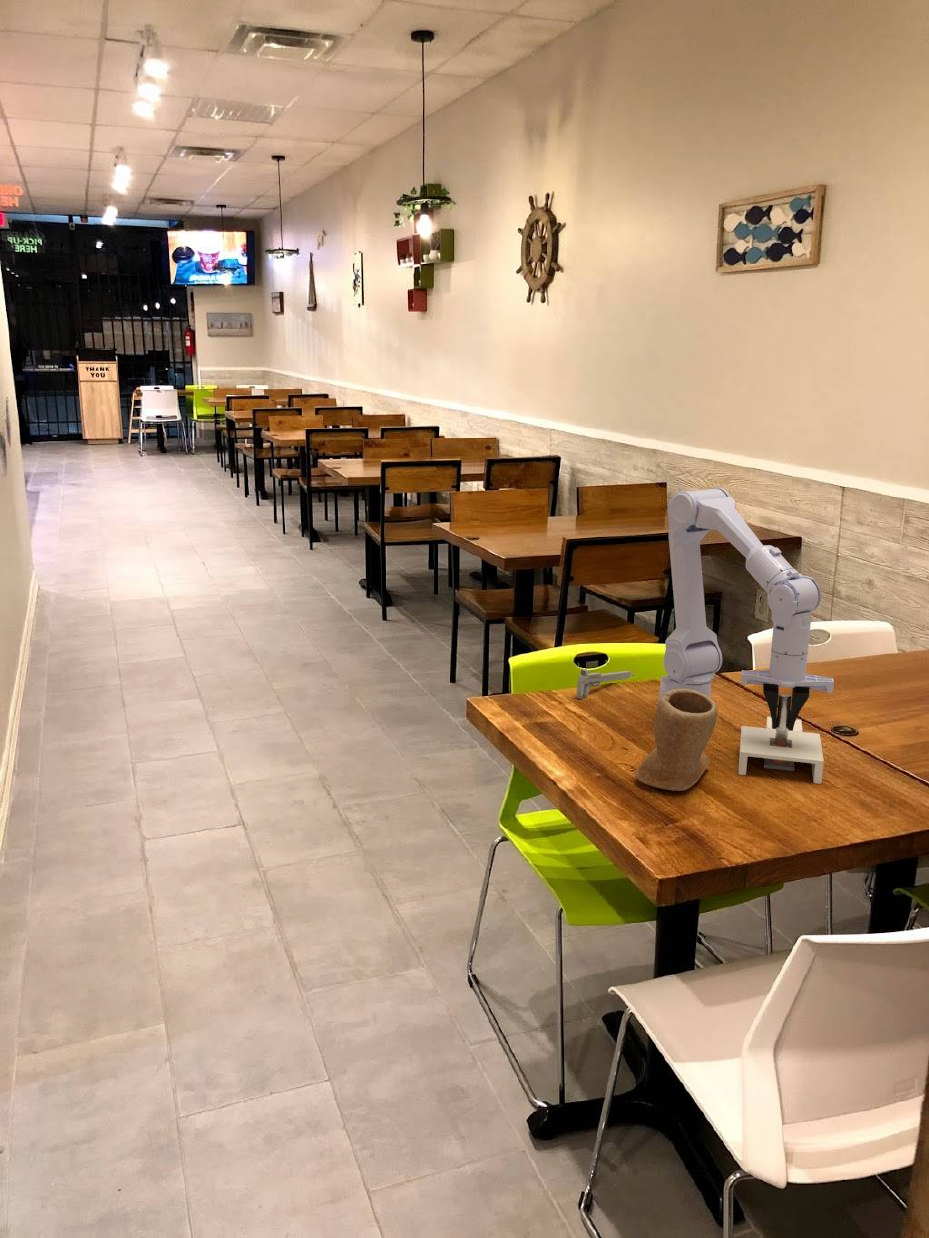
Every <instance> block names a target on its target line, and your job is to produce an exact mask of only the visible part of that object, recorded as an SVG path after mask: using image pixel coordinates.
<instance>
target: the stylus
mask: <svg viewBox="0 0 929 1238" xmlns="http://www.w3.org/2000/svg"><path fill="white" fill-rule="evenodd" d="M791 701H792V695H789V694H779V697H778V706H777V728H776V733H775V744H774V746H779V747H787V739H788V727H789V718H790V710H791Z"/></svg>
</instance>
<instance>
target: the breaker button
mask: <svg viewBox="0 0 929 1238" xmlns="http://www.w3.org/2000/svg"><path fill="white" fill-rule="evenodd" d="M772 746H774V744H773V745H772ZM787 747H788V746H787ZM788 748H789V747H788ZM763 768H764V769H769V770H779V771H786V772H787V771H788V772H795V761H786V760H777V759H768V758H763Z"/></svg>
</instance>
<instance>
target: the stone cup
mask: <svg viewBox="0 0 929 1238" xmlns="http://www.w3.org/2000/svg"><path fill="white" fill-rule="evenodd" d="M717 717H718V707H717V704H716V702H715V701H714V700H713V699H712V698H711V696H710V697H708V696H706V695H705V694H703V693H701V692H698V691H695V690H690V689H674V690H670V691H668V692H667V693H665V694H664V695H663V696H662V698H661V699H660V701H659V700H658V704H657V706H656V711H655V715H654V722H653V733H654V739H655V748H654V749H653V750H652V751H651V752H650V753H649V754H648V755H647V756H646V758H644V760H643V761H642V762H641V763H640V764H639V766H637V768H636V770H635V777H636V779H637V780H638V781H639V782H641V783H643V784H645V785H647V786H650V787H653V788H656V789H662V790H665V791H666V790H667V791H677V792H681V791H686V790H688V789H691V788H692V787H693V786H694V785H695V784H696V783H697V782H699V780H700V779H701V776H702V775H703V774H704V773H705V771H706V769H707V768H708V767H709V765H710V763H711V759H710V758H709V757H708V756H707V755H706V754H704V750H705V748H706V747H707V744H708V742H709V741H710V739H711V737H712V735H713V733H714V731H715V728H716V723H717Z"/></svg>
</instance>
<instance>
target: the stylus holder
mask: <svg viewBox="0 0 929 1238" xmlns="http://www.w3.org/2000/svg"><path fill="white" fill-rule="evenodd" d="M802 723H803V722H802V719H797V718H796V721H795V724H794V727H793V731H797V732H804V731H803V724H802ZM765 726H766V727H765V728H768V729H772V719H771V716H766V725H765ZM788 731H789V730H788Z"/></svg>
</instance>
